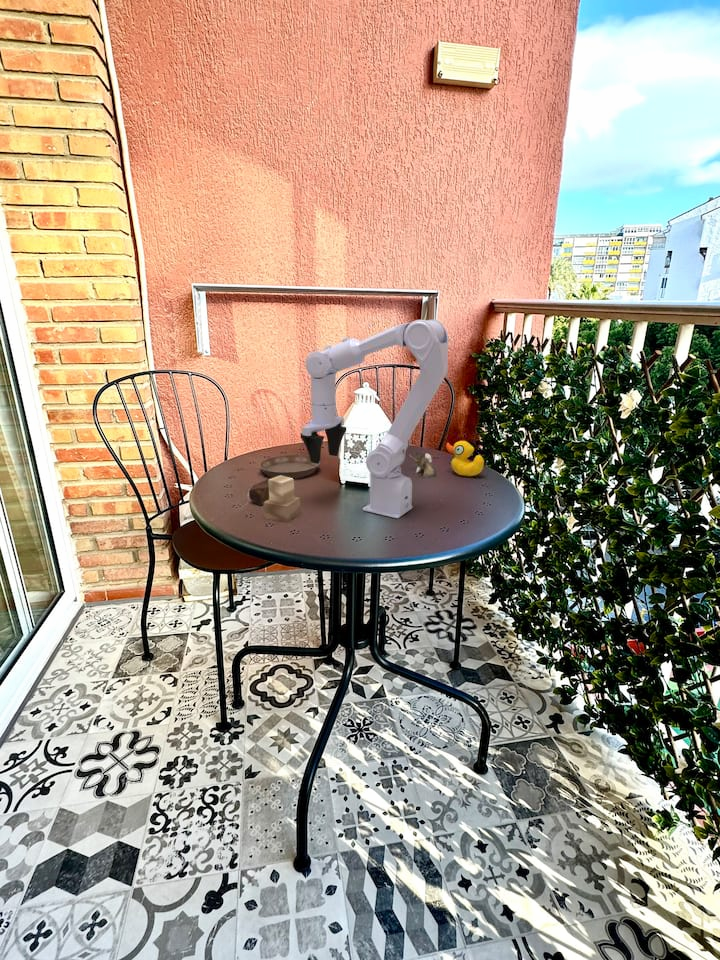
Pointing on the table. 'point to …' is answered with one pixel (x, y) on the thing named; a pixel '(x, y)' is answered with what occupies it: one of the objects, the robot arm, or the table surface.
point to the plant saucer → (288, 466)
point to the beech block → (281, 489)
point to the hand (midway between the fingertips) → (324, 458)
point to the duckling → (465, 459)
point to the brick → (260, 492)
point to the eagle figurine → (425, 465)
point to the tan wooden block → (282, 510)
